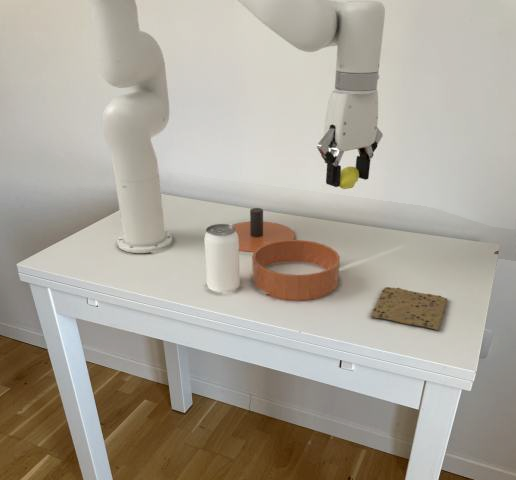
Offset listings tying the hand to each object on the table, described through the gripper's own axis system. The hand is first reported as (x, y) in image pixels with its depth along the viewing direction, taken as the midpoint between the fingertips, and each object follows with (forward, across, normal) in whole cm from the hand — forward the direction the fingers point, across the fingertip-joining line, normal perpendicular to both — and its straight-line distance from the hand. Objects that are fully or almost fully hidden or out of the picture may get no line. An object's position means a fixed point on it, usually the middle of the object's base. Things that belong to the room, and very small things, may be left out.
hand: (347, 180), depth 106 cm
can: (+18, +26, -6) cm, 32 cm away
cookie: (+18, +4, +22) cm, 29 cm away
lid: (+17, +6, -22) cm, 28 cm away
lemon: (+2, 0, 0) cm, 2 cm away
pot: (+18, +13, 0) cm, 22 cm away
